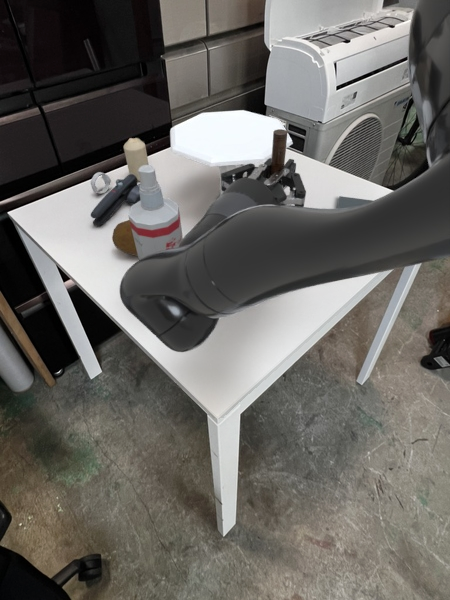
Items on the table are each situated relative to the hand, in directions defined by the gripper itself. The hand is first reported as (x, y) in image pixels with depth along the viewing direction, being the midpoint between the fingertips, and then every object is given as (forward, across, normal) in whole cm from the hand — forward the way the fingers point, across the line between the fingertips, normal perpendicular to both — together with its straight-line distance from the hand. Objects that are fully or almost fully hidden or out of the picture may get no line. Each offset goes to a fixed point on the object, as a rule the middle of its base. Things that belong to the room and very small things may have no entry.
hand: (283, 163), depth 59 cm
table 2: (+19, +19, +22) cm, 35 cm away
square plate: (+27, -11, +22) cm, 36 cm away
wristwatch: (+9, +51, +22) cm, 56 cm away
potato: (-6, +27, +22) cm, 35 cm away
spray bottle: (-15, +15, +22) cm, 31 cm away
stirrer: (-3, 0, +8) cm, 9 cm away
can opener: (+4, +42, +22) cm, 48 cm away
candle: (+20, +46, +22) cm, 55 cm away
